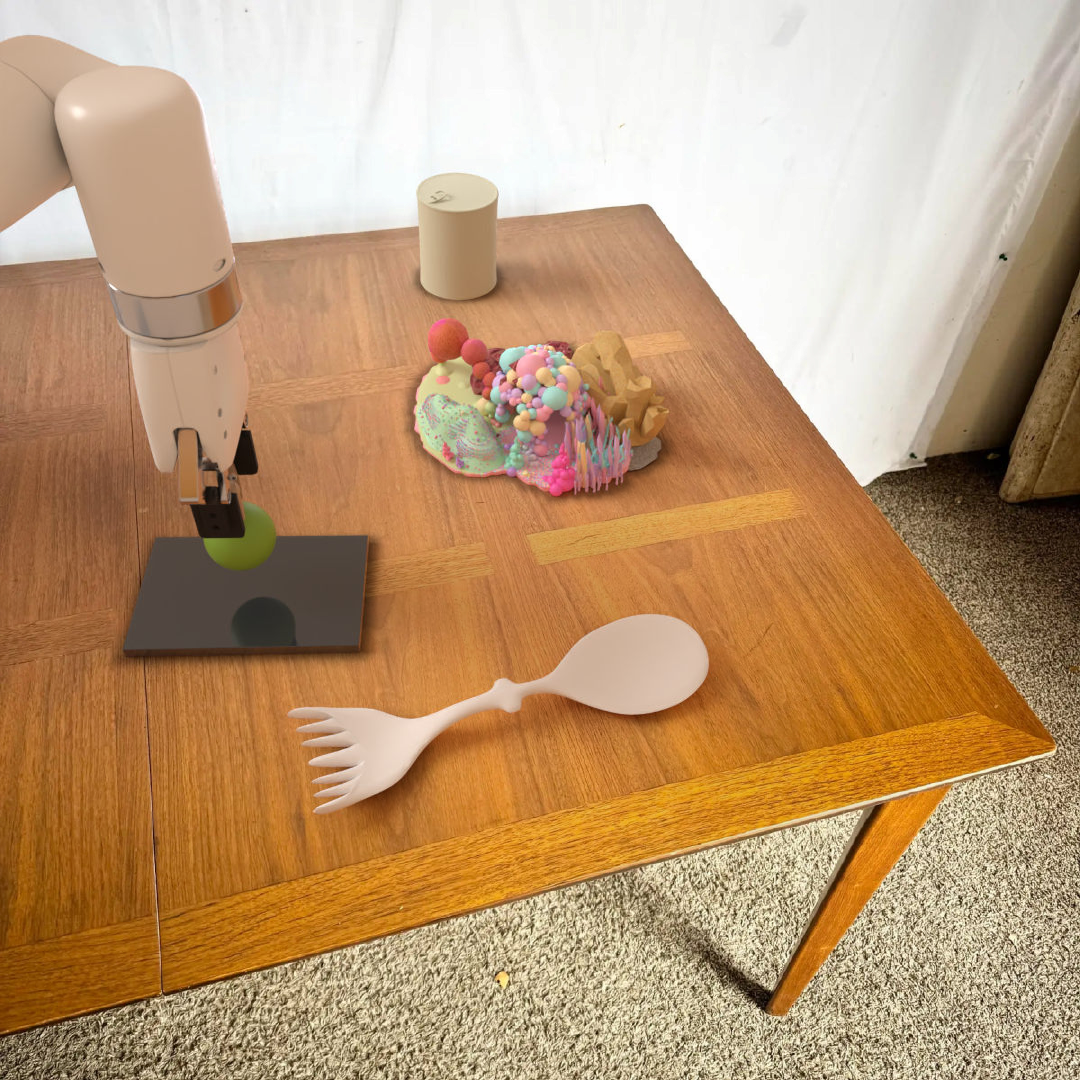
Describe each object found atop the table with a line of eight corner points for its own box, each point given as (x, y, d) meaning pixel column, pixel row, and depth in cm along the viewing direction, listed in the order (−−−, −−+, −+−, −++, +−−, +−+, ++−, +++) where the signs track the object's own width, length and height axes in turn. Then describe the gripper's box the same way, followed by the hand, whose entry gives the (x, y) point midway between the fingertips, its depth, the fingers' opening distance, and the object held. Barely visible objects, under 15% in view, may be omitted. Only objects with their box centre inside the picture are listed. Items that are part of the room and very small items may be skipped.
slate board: (127, 661, 75) (122, 649, 74) (159, 548, 83) (155, 536, 82) (360, 656, 76) (358, 645, 75) (369, 546, 85) (368, 534, 84)
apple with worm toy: (220, 602, 74) (187, 487, 65) (205, 545, 78) (171, 430, 69) (291, 582, 75) (267, 468, 67) (272, 528, 79) (247, 413, 71)
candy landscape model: (612, 339, 108) (621, 266, 101) (698, 477, 93) (715, 402, 86) (393, 372, 102) (387, 296, 95) (446, 525, 87) (444, 448, 80)
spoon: (290, 731, 71) (284, 704, 69) (670, 615, 81) (676, 588, 78) (319, 837, 66) (313, 812, 63) (724, 699, 75) (732, 673, 73)
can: (404, 279, 115) (398, 183, 106) (463, 254, 119) (463, 160, 111) (453, 313, 110) (451, 215, 102) (513, 286, 115) (516, 191, 106)
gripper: (144, 220, 64) (200, 428, 77) (74, 377, 52) (154, 592, 65) (258, 221, 65) (294, 428, 78) (215, 377, 53) (266, 590, 66)
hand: (230, 501), depth 71 cm, fingers closed on apple with worm toy, 6 cm apart
